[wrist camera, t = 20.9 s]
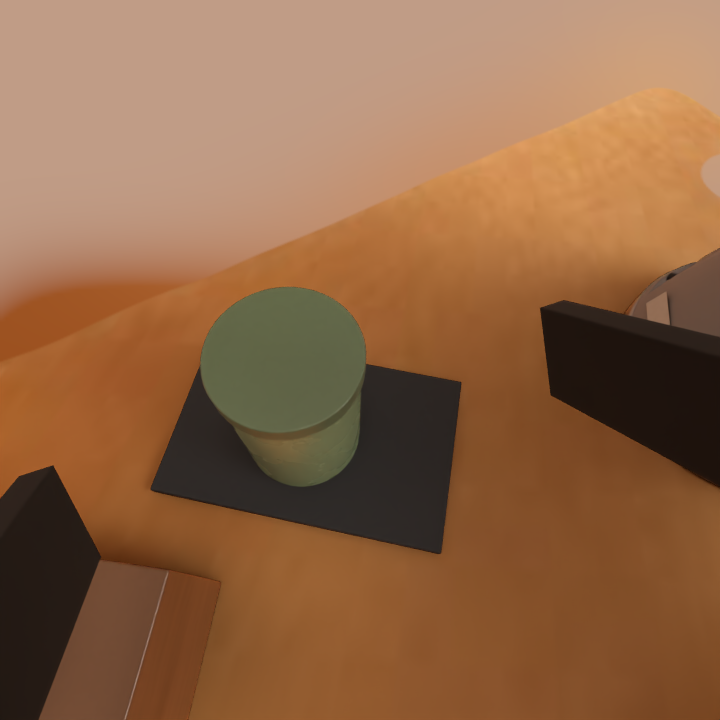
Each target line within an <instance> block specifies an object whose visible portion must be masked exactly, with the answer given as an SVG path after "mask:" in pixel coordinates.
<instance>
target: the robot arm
mask: <svg viewBox="0 0 720 720" xmlns="http://www.w3.org/2000/svg"><path fill="white" fill-rule="evenodd" d="M540 311H541V319H542V327H543V335H544V344H545V352H546V360H547V368H548V377H549V385H550V393H551V396H553V397H555V398H557V399H559V400H561V401H562V402H564V403H566V404H568V405H570V406H572V407H574V408H575V409H577V410H579V411H581V412H583V413H585V414H586V415H588V416H590V417H592V418H594V419H596V420H598V421H599V422H601V423H603V424H605V425H607V426H609V427H611V428H612V429H614V430H616V431H618V432H620V433H622V434H624V435H625V436H627V437H629V438H631V439H633V440H635V441H636V442H638V443H640V444H642V445H644V446H646V447H648V448H649V449H651V450H653V451H655V452H657V453H659V454H661V455H662V456H664V457H666V458H668V459H670V460H672V461H673V462H675V463H677V464H679V465H681V466H683V467H685V468H686V469H688V470H690V471H692V472H694V473H695V474H697V475H699V476H700V477H702V478H704V479H705V480H707V481H709V482H711V483H713V484H715V485H717V486H719V487H720V248H719V249H717V250H715V251H713V252H711V253H709V254H708V255H706V256H704V257H703V258H701V259H700V260H699V261H697V262H694V263H690V264H688V265H685V266H682V267H680V268H677V269H675V270H673V271H671V272H668V273H666V274H664V275H663V276H661V277H659V278H658V279H656V280H655V281H654V282H652V283H651V284H650V285H649V286H648V287H647V288H646V289H645V290H644V291H643V292H642V293H641V294H640V296H639V297H638V298H637V299H636V300H635V301H634V302H633V303H632V304H631V306H630V307H629V308H628V309H627V311H626V312H625V314H620V313H616V312H612V311H608V310H603V309H599V308H595V307H591V306H586V305H582V304H578V303H574V302H569V301H565V300H563V301H560V302H557V303H554V304H550V305H547V306H544V307H541V308H540ZM100 558H101V556H100V554H99V552H98V550H97V548H96V546H95V544H94V542H93V541H92V539H91V537H90V535H89V533H88V531H87V529H86V527H85V525H84V523H83V521H82V520H81V518H80V516H79V514H78V512H77V510H76V508H75V506H74V504H73V502H72V500H71V499H70V497H69V495H68V493H67V491H66V489H65V487H64V485H63V483H62V481H61V479H60V478H59V476H58V474H57V472H56V470H55V468H54V466H50V467H46V468H43V469H40V470H37V471H34V472H31V473H28V474H25V475H22V476H19V477H18V478H17V479H16V480H15V482H14V483H13V484H12V485H11V487H10V488H9V489H8V490H7V491H6V493H5V494H4V495H3V496H2V497H1V499H0V720H39V717H40V715H41V712H42V710H43V707H44V704H45V702H46V699H47V696H48V694H49V691H50V689H51V686H52V683H53V681H54V678H55V676H56V673H57V670H58V668H59V665H60V663H61V660H62V657H63V655H64V652H65V649H66V647H67V644H68V642H69V639H70V636H71V634H72V631H73V629H74V626H75V623H76V621H77V618H78V616H79V613H80V610H81V608H82V605H83V602H84V600H85V597H86V595H87V592H88V589H89V587H90V584H91V582H92V579H93V576H94V574H95V571H96V569H97V566H98V563H99V561H100Z"/></svg>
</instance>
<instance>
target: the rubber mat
mask: <svg viewBox="0 0 720 720" xmlns="http://www.w3.org/2000/svg"><path fill="white" fill-rule="evenodd" d="M460 390H461V382H458V381H452V380H447V379H442V378H437V377H431V376H426V375H421V374H415V373H410V372H405V371H400V370H394V369H389V368H384V367H378V366H373V365H368V364H366V371H365V377H364V382H363V385H362V388H361V409H360V434H359V442H358V445H357V449H356V451H355V453H354V455H353V457H352V459H351V460H350V462H349V463H348V464H347V466H346V467H345V468H344V469H343V470H342V471H341V472H340V473H338V474H337V475H336V476H334V477H333V478H331V479H329V480H328V481H325V482H323V483H320V484H317V485H313V486H305V487H297V486H290V485H286V484H282V483H280V482H278V481H276V480H274V479H272V478H271V477H269V476H268V475H267V474H265V473H264V472H263V471H262V470H261V469H260V467H259V466H258V465H257V463H256V462H255V460H254V459H253V457H252V456H251V454H250V453H249V451H248V449H247V448H246V446H245V445H244V443H243V442H242V440H241V439H240V437H239V436H238V434H237V432H236V431H235V429H234V428H233V426H232V425H231V424H230V423H229V422H228V421H227V420H226V419H225V418H224V417H223V416H222V415H221V414H220V413H219V411H218V410H217V408H216V407H215V405H214V404H213V402H212V401H211V399H210V398H209V396H208V394H207V392H206V390H205V388H204V385H203V381H202V378H201V370H200V367H199V369H198V372H197V374H196V377H195V379H194V382H193V384H192V387H191V389H190V392H189V394H188V397H187V399H186V402H185V404H184V407H183V409H182V412H181V414H180V417H179V419H178V422H177V424H176V427H175V429H174V431H173V434H172V436H171V439H170V441H169V444H168V446H167V449H166V451H165V454H164V456H163V459H162V461H161V464H160V466H159V469H158V471H157V474H156V476H155V479H154V481H153V484H152V486H151V490H152V491H154V492H158V493H163V494H167V495H172V496H176V497H181V498H186V499H190V500H195V501H199V502H204V503H208V504H213V505H218V506H222V507H227V508H231V509H236V510H240V511H245V512H250V513H254V514H259V515H263V516H268V517H272V518H277V519H282V520H286V521H291V522H295V523H300V524H304V525H309V526H314V527H318V528H323V529H327V530H332V531H336V532H341V533H346V534H350V535H355V536H359V537H364V538H368V539H373V540H378V541H382V542H387V543H391V544H396V545H400V546H405V547H409V548H414V549H419V550H423V551H428V552H432V553H437V554H440V553H441V550H442V541H443V533H444V525H445V516H446V508H447V499H448V491H449V483H450V474H451V466H452V457H453V449H454V441H455V432H456V424H457V416H458V407H459V399H460Z"/></svg>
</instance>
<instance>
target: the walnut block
mask: <svg viewBox="0 0 720 720" xmlns="http://www.w3.org/2000/svg"><path fill="white" fill-rule="evenodd" d="M220 585H221V582H220V581H215V580H211V579H207V578H202V577H198V576H194V575H189V574H185V573H181V572H176V571H172V570H168V569H161V568H154V567H148V566H141V565H134V564H128V563H121V562H114V561H108V560H101V559H100V561H99V563H98V566H97V569H96V571H95V574H94V576H93V579H92V582H91V584H90V587H89V589H88V592H87V595H86V597H85V600H84V602H83V605H82V608H81V610H80V613H79V616H78V618H77V621H76V623H75V626H74V629H73V631H72V634H71V636H70V639H69V642H68V644H67V647H66V649H65V652H64V655H63V657H62V660H61V663H60V665H59V668H58V670H57V673H56V676H55V678H54V681H53V683H52V686H51V689H50V691H49V694H48V696H47V699H46V702H45V704H44V707H43V710H42V712H41V715H40V717H39V720H188V717H189V713H190V709H191V705H192V701H193V696H194V692H195V688H196V684H197V680H198V676H199V672H200V668H201V664H202V659H203V655H204V651H205V647H206V643H207V639H208V635H209V631H210V627H211V622H212V618H213V614H214V610H215V606H216V602H217V598H218V594H219V590H220Z"/></svg>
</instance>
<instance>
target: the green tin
mask: <svg viewBox="0 0 720 720" xmlns="http://www.w3.org/2000/svg"><path fill="white" fill-rule="evenodd" d="M200 370H201V378H202V381H203V385H204V388H205V390H206V392H207V394H208V396H209V398H210V399H211V401H212V402H213V404H214V405H215V407H216V408H217V410H218V411H219V413H220V414H221V415H222V416H223V417H224V418H225V419H226V420H227V421H228V422H229V423H230V424H231V425H232V426H233V428H234V429H235V431H236V432H237V434H238V436H239V437H240V439H241V440H242V442H243V443H244V445H245V446H246V448H247V449H248V451H249V453H250V454H251V456H252V457H253V459H254V460H255V462H256V463H257V465H258V466H259V467H260V469H261V470H262V471H263V472H264V473H265V474H267V475H268V476H269V477H271V478H272V479H274V480H276V481H278V482H280V483H282V484H286V485H290V486H297V487H305V486H313V485H317V484H320V483H323V482H325V481H328V480H329V479H331V478H333V477H334V476H336V475H337V474H338V473H340V472H341V471H342V470H343V469H344V468H345V467H346V466H347V464H348V463H349V462H350V460H351V459H352V457H353V455H354V453H355V451H356V449H357V445H358V442H359V434H360V409H361V388H362V385H363V382H364V377H365V371H366V346H365V341H364V337H363V334H362V332H361V329H360V327H359V325H358V323H357V322H356V320H355V319H354V317H353V316H352V315H351V314H350V313H349V312H348V310H347V309H345V308H344V307H343V306H342V305H341V304H340V303H338V302H337V301H335V300H334V299H332V298H331V297H328V296H326V295H324V294H322V293H319V292H317V291H314V290H310V289H305V288H298V287H279V288H272V289H267V290H263V291H260V292H257V293H254V294H252V295H249V296H247V297H245V298H243V299H241V300H240V301H238V302H236V303H235V304H234V305H232V306H231V307H230V308H228V309H227V310H226V311H225V312H224V313H223V314H222V315H221V316H220V317H219V318H218V319H217V321H216V322H215V323H214V325H213V326H212V328H211V329H210V331H209V333H208V335H207V337H206V339H205V342H204V345H203V348H202V353H201V360H200Z"/></svg>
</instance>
